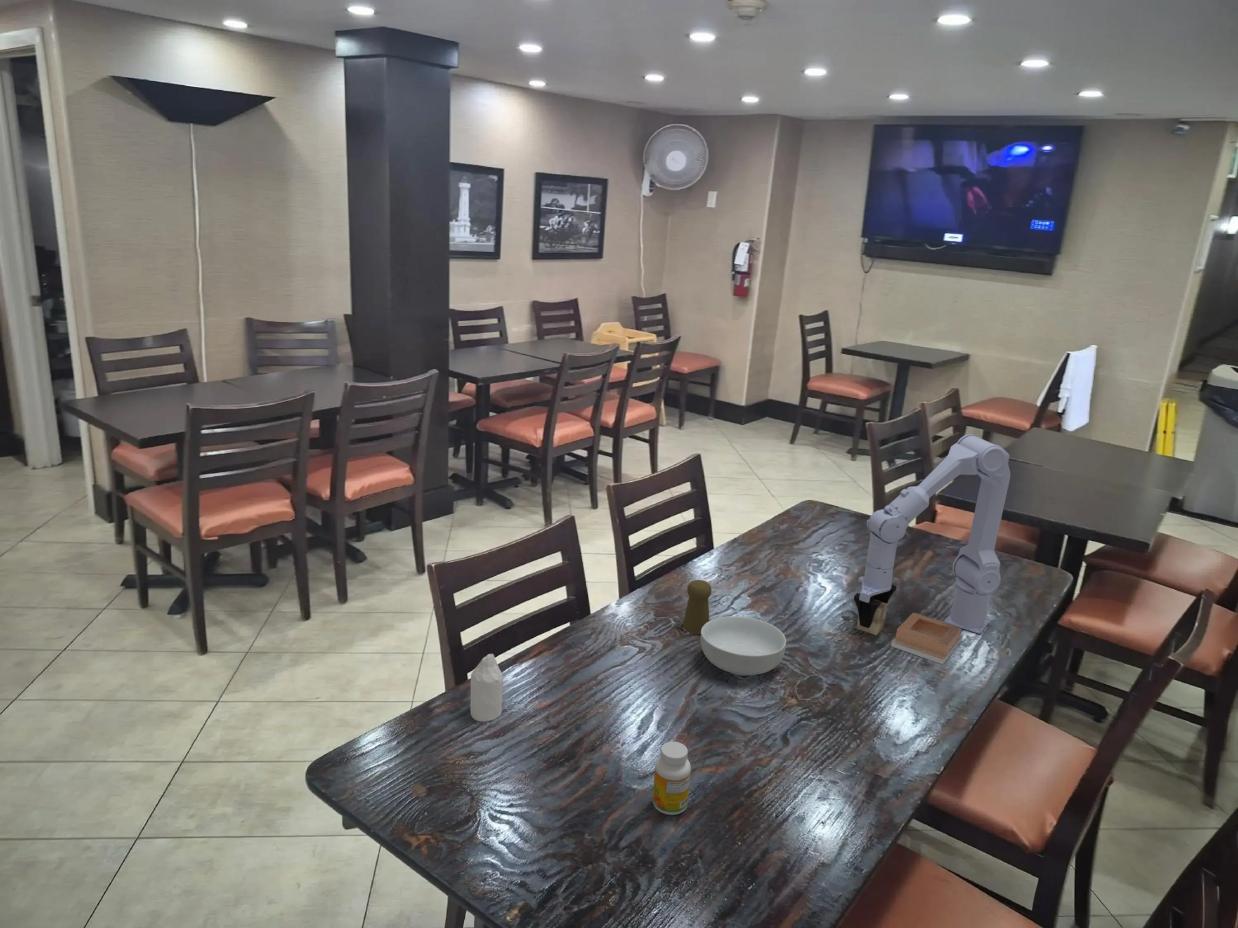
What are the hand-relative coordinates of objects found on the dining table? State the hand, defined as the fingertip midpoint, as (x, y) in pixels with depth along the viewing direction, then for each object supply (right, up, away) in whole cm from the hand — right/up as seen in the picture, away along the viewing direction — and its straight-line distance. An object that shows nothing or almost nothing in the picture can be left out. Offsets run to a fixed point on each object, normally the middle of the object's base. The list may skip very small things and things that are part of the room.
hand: (871, 620), depth 181 cm
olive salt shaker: (-40, -1, -3) cm, 40 cm away
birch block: (0, -2, +1) cm, 2 cm away
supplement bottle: (-49, -17, -57) cm, 77 cm away
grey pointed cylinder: (-80, -9, -37) cm, 89 cm away
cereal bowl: (-32, -6, -17) cm, 37 cm away
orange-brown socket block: (+11, -4, -5) cm, 12 cm away
